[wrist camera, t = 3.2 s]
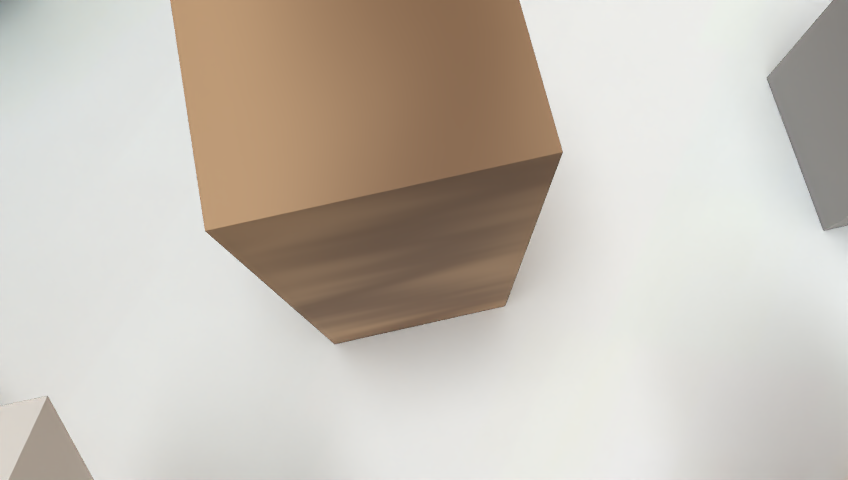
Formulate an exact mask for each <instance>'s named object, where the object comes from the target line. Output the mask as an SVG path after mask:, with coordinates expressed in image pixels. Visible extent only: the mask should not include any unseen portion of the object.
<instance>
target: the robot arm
mask: <svg viewBox="0 0 848 480" xmlns="http://www.w3.org/2000/svg"><path fill="white" fill-rule="evenodd" d="M0 480H94V479H93V478H92V476H91V474H90V472H89V470H88V469H87V467H86V465H85V463H84V461H83V459H82V458H81V456H80V454H79V452H78V450H77V448H76V447H75V445H74V443H73V441H72V439H71V438H70V436H69V434H68V432H67V430H66V428H65V427H64V425H63V423H62V421H61V419H60V417H59V416H58V414H57V412H56V410H55V408H54V407H53V405H52V403H51V401H50V399H49V397H48V396H44V397H40V398H35V399H30V400H26V401H21V402H16V403H12V404H7V405H2V406H0Z"/></svg>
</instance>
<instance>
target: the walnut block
mask: <svg viewBox="0 0 848 480" xmlns="http://www.w3.org/2000/svg"><path fill="white" fill-rule="evenodd" d="M170 1H171V8H172V15H173V21H174V28H175V34H176V41H177V48H178V54H179V61H180V68H181V74H182V81H183V88H184V94H185V101H186V107H187V114H188V121H189V127H190V134H191V141H192V147H193V154H194V161H195V167H196V174H197V180H198V187H199V194H200V200H201V207H202V214H203V220H204V227H205V231H206V232H207V233H208V234H209V235H210V236H211V237H213V238H214V239H215V240H216V241H217V242H218V243H219V244H221V245H222V246H223V247H224V248H225V249H226V250H227V251H229V252H230V253H231V254H232V255H233V256H234V257H235V258H237V259H238V260H239V261H240V262H241V263H242V264H244V265H245V266H246V267H247V268H248V269H249V270H250V271H252V272H253V273H254V274H255V275H256V276H257V277H258V278H260V279H261V280H262V281H263V282H264V283H265V284H266V285H268V286H269V287H270V288H271V289H272V290H273V291H274V292H276V293H277V294H278V295H279V296H280V297H281V298H282V299H284V300H285V301H286V302H287V303H288V304H289V305H290V306H292V307H293V308H294V309H295V310H296V311H297V312H298V313H300V314H301V315H302V316H303V317H304V318H305V319H306V320H308V321H309V322H310V323H311V324H312V325H313V326H314V327H316V328H317V329H318V330H319V331H320V332H321V333H322V334H324V335H325V336H326V337H327V338H328V339H329V340H330V341H332V342H333V343H334V344H338V343H342V342H347V341H351V340H356V339H360V338H365V337H369V336H373V335H378V334H382V333H387V332H391V331H396V330H400V329H405V328H409V327H414V326H418V325H422V324H427V323H431V322H436V321H440V320H445V319H449V318H454V317H458V316H463V315H467V314H471V313H476V312H480V311H485V310H489V309H494V308H498V307H503V306H505V305H506V302H507V299H508V297H509V294H510V291H511V289H512V286H513V283H514V281H515V278H516V275H517V273H518V270H519V267H520V265H521V262H522V259H523V257H524V254H525V251H526V249H527V246H528V243H529V241H530V238H531V235H532V233H533V230H534V227H535V225H536V222H537V219H538V217H539V214H540V211H541V209H542V206H543V203H544V201H545V198H546V195H547V193H548V190H549V187H550V185H551V182H552V179H553V177H554V174H555V171H556V169H557V166H558V163H559V161H560V158H561V155H562V153H563V151H562V148H561V144H560V141H559V137H558V134H557V130H556V127H555V123H554V120H553V116H552V113H551V110H550V106H549V103H548V99H547V96H546V92H545V89H544V85H543V82H542V78H541V75H540V71H539V68H538V64H537V61H536V57H535V54H534V50H533V47H532V43H531V40H530V36H529V33H528V29H527V26H526V22H525V19H524V15H523V12H522V8H521V5H520V1H519V0H170Z"/></svg>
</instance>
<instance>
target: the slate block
mask: <svg viewBox="0 0 848 480" xmlns="http://www.w3.org/2000/svg"><path fill="white" fill-rule="evenodd" d="M767 80H768V82H769V85H770V88H771V90H772V93H773V96H774V98H775V101H776V104H777V106H778V109H779V112H780V114H781V117H782V120H783V122H784V125H785V128H786V131H787V133H788V136H789V139H790V141H791V144H792V147H793V149H794V152H795V155H796V157H797V160H798V163H799V165H800V168H801V171H802V174H803V176H804V179H805V182H806V184H807V187H808V190H809V192H810V195H811V198H812V200H813V203H814V206H815V208H816V211H817V214H818V217H819V219H820V222H821V225H822V227H823V230H829V229H833V228H837V227H842V226H846V225H848V0H833V1H832V2H831V3H830V5H829V6H828V7H827V8H826V9H825V10H824V12H823V13H822V14H821V15H820V16H819V17H818V19H817V20H816V21H815V22H814V23H813V25H812V26H811V27H810V28H809V29H808V30H807V32H806V33H805V34H804V35H803V36H802V37H801V39H800V40H799V41H798V42H797V43H796V44H795V46H794V47H793V48H792V49H791V50H790V51H789V53H788V54H787V55H786V56H785V57H784V58H783V60H782V61H781V62H780V63H779V64H778V65H777V67H776V68H775V69H774V70H773V71H772V72H771V74H770V75H769V76H768V77H767Z"/></svg>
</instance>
